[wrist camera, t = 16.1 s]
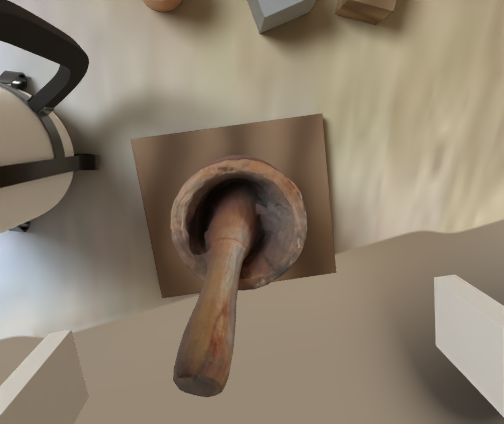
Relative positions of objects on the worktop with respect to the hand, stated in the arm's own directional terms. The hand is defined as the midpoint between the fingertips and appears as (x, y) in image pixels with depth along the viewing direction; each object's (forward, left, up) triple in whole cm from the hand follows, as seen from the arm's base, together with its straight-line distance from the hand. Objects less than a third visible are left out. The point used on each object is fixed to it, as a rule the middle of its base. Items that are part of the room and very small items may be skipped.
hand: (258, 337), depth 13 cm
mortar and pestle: (0, 0, -24) cm, 24 cm away
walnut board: (0, 0, -25) cm, 25 cm away
